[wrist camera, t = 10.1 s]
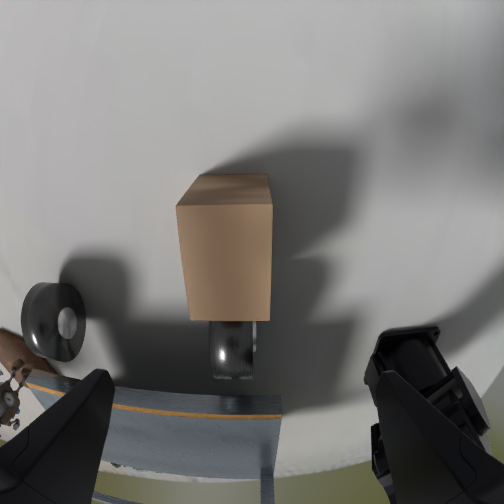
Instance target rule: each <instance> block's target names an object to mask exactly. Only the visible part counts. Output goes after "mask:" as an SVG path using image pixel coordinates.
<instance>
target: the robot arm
mask: <svg viewBox="0 0 504 504" xmlns="http://www.w3.org/2000/svg"><path fill="white" fill-rule="evenodd" d="M439 334H440V329H439V328H438V327H431V328H424V329H416V330H408V331H400V332H391V333H383V334H381V335H380V336H379V338H378V340H377V343H376V346H375V349H374V352H373V354H372V356H371V357H370V360H369V363H368V366H367V369H366V371H365V377H364V383H365V384H366V385H368V386H369V389H370V392H371V395H372V398H373V401H374V404H375V406H376V407H377V410H378V417H379V423H376V424H374V425H372V426H371V445H372V470H373V472H374V473H375V476H376V477H377V480H378V481H379V482H380V484H381V485H382V486H383V487H384V489H385V491H386V493H387V495H388V498H389V500H390V503H391V504H504V464H503V463H501V462H500V461H498V460H497V459H496V458H494V457H493V456H491V452H492V446H491V443H490V441H489V439H488V437H487V435H486V432H487V431H488V430H489V429H491V426H490V423H489V420H488V417H487V414H486V411H485V408H484V406H483V403H482V400H481V398H480V397H479V395H478V393H477V392H476V390H475V388H474V387H473V385H472V383H471V382H470V381H469V380H468V378H467V377H466V376H465V375H464V374H463V373H462V372H461V371H460V370H459V368H458V367H457V366H456V367H455V368H454V369H452V370H450V368H449V367H448V365H447V363H446V362H445V360H444V358H443V356H442V355H441V353H440V351H439V350H438V348H437V346H436V345H435V343H436V341H437V339H438V337H439ZM451 371H452V372H451ZM114 394H115V385H114V383H113V381H112V379H111V377H110V375H109V372H108V371H107V370H104V369H95V370H93V371H92V372H91V373H90V374H89V375H87V376H86V377H85V378H84V379H83V380H81V381H80V382H79V383H78V384H77V385H75V386H74V387H73V388H72V389H71V390H69V391H68V392H67V393H66V394H65V395H64V396H62V397H61V398H60V399H59V400H58V401H56V402H55V403H54V404H53V405H52V406H50V407H49V408H48V409H47V410H46V411H45V412H43V413H42V414H41V415H40V416H39V417H38V418H36V419H35V420H34V421H33V422H32V423H30V424H29V426H27V427H26V428H25V429H23V430H22V431H21V432H20V433H18V434H17V435H16V436H15V437H14V438H12V439H11V440H10V441H8V442H7V443H5V444H4V445H3V446H1V447H0V504H91V501H92V496H93V491H94V487H95V482H96V477H97V473H98V469H99V465H100V461H101V457H102V453H103V449H104V445H105V441H106V437H107V433H108V429H109V424H110V418H111V412H112V406H113V400H114Z"/></svg>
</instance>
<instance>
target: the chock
mask: <svg viewBox="0 0 504 504" xmlns="http://www.w3.org/2000/svg"><path fill="white" fill-rule="evenodd" d="M176 214H177V224H178V233H179V242H180V250H181V258H182V266H183V273H184V281H185V288H186V295H187V301H188V308H189V314H190V320H202V321H270V297H271V262H272V217H273V203H272V198H271V193H270V188H269V183H268V179H267V174H220V175H199V176H198V177H197V179H196V180H195V181H194V183H193V184H192V185H191V186H190V188H189V189H188V190H187V192H186V193H185V194H184V196H183V197H182V198H181V200H180V201H179V202H178V204H177V205H176Z"/></svg>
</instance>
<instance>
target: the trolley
mask: <svg viewBox="0 0 504 504" xmlns="http://www.w3.org/2000/svg"><path fill="white" fill-rule="evenodd" d="M21 327H22V333H23V337H24V339H25V342H26V344H27V346H28V347H29V349H30V350H31V351H32V352H33V353H34V354H35V355H37V356H39V357H43V358H48V359H52V360H57V361H62V362H69V361H71V360H73V359H74V358H75V357H76V356H77V355H78V353H79V351H80V349H81V347H82V344H83V341H84V337H85V329H86V317H85V309H84V305H83V301H82V299H81V296H80V294H79V293H78V291H77V290H76V289H75V288H74V287H73V286H72V285H70V284H63V283H45V282H42V283H38V284H36V285H34V286H33V287H32V288H31V289H30V290H29V292H28V294H27V295H26V297H25V300H24V303H23V306H22V312H21ZM209 348H210V362H211V369H212V374H213V377H214V378H215V379H253V352H256V321H209ZM80 381H81V380H80V379H75V378H70V377H65V376H61V375H57V374H53V373H48V372H44V371H41V370H37V369H32V371H31V373H30V374H29V376H28V378H27V379H26V381H25V382H26V384H27V385H28V387H29V388H30V390H31V391H32V392H33V394H34V395H35V397H36V398H37V399H38V401H39V402H40V403H41V405H42V406H43V407H44V409H45V410H47V409H48V408H49V407H50V406H52V405H53V404H54V403H55V402H56V401H58V400H59V399H60V398H61V397H62V396H64V395H65V394H66V393H67V392H68V391H69V390H71V389H72V388H73V387H74V386H75V385H77V384H78V383H79V382H80ZM281 419H282V407H281V395H272V396H223V395H199V394H183V393H171V392H160V391H150V390H142V389H134V388H127V387H120V386H115V394H114V400H113V406H112V412H111V418H110V424H109V429H108V433H107V437H106V441H105V445H104V449H103V453H102V457H101V460H103V461H107V462H111V463H115V464H120V465H124V466H129V467H134V468H139V469H144V470H150V471H156V472H162V473H169V474H177V475H186V476H195V477H208V478H226V479H260V489H261V490H260V491H261V504H275V503H274V481H273V480H274V479H273V474H274V467H275V461H276V454H277V448H278V441H279V434H280V426H281ZM92 500H96V501H99V502H102V503H105V504H141V503H136V502H132V501H128V500H124V499H120V498H116V497H112V496H108V495H105V494H101V493H98V492H95V491H93V496H92Z"/></svg>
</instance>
